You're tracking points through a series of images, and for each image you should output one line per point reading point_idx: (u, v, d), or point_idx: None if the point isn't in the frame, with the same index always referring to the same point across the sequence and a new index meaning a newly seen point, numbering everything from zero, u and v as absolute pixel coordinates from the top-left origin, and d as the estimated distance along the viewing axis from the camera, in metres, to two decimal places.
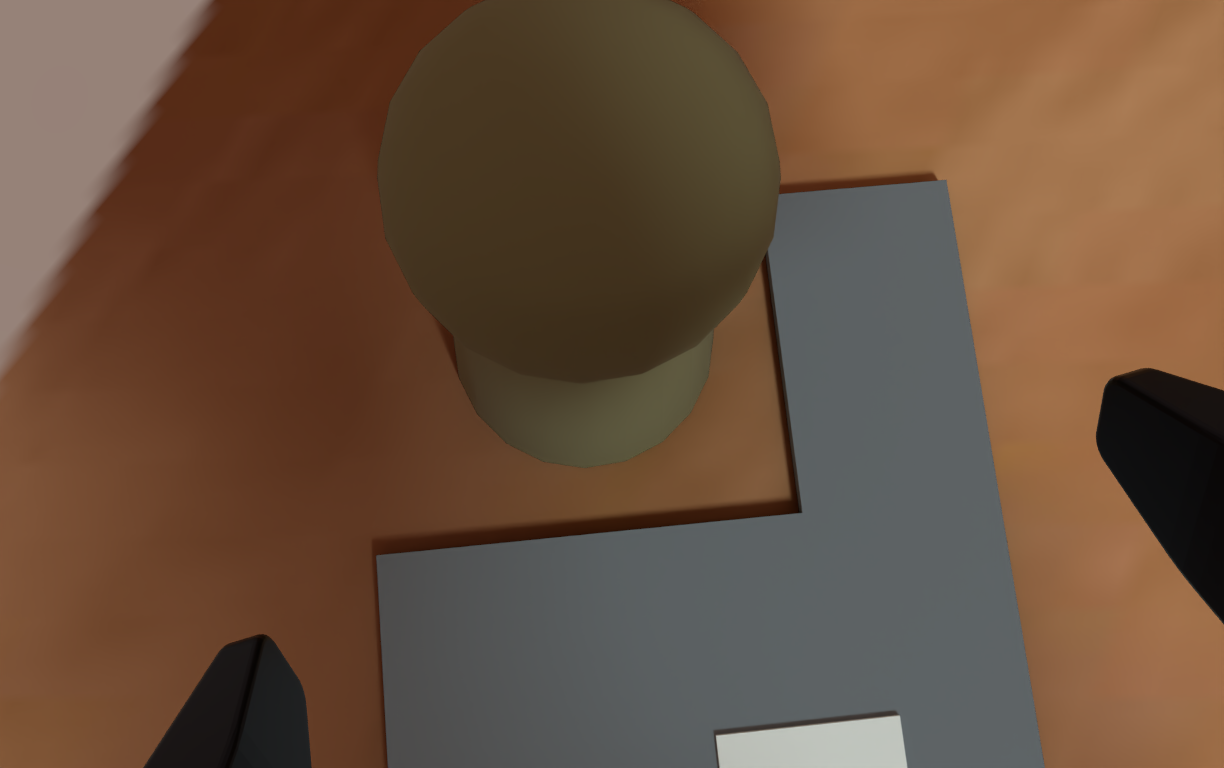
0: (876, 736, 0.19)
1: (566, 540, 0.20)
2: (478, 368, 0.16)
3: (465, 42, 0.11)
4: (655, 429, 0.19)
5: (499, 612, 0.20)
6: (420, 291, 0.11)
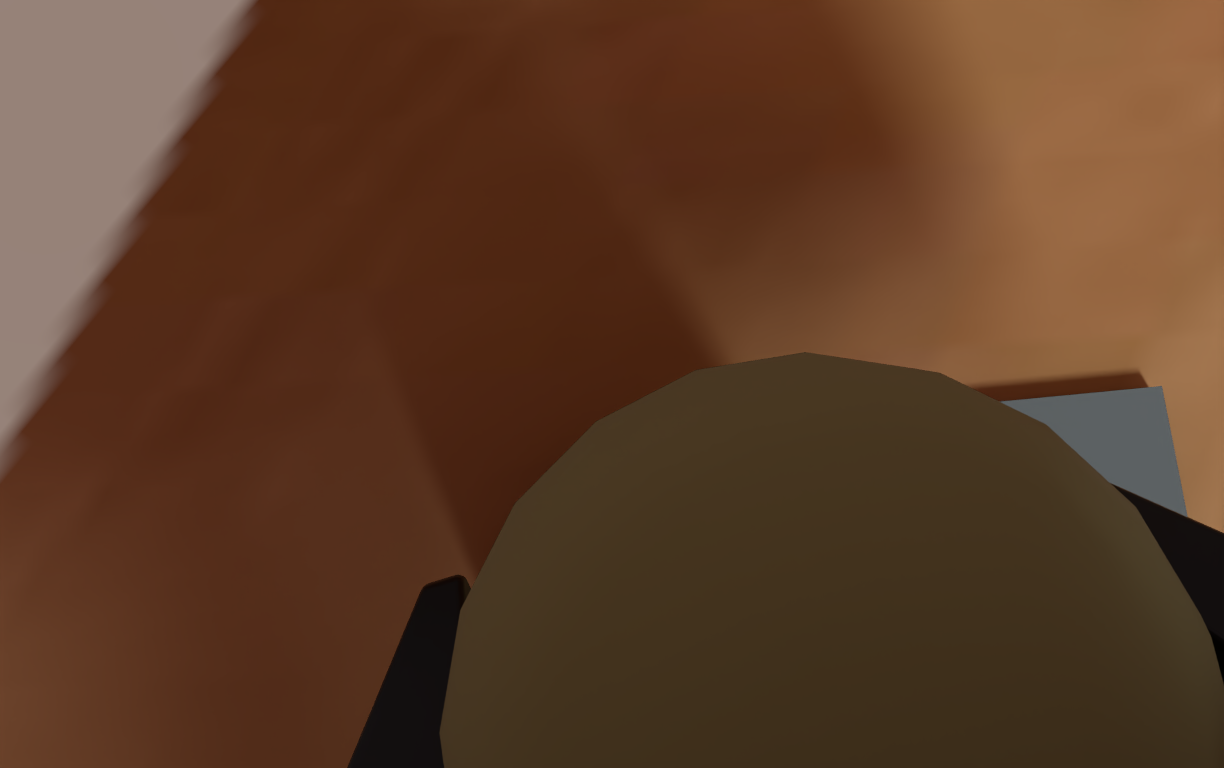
0: None
1: None
2: None
3: (636, 563, 0.05)
4: None
5: None
6: None
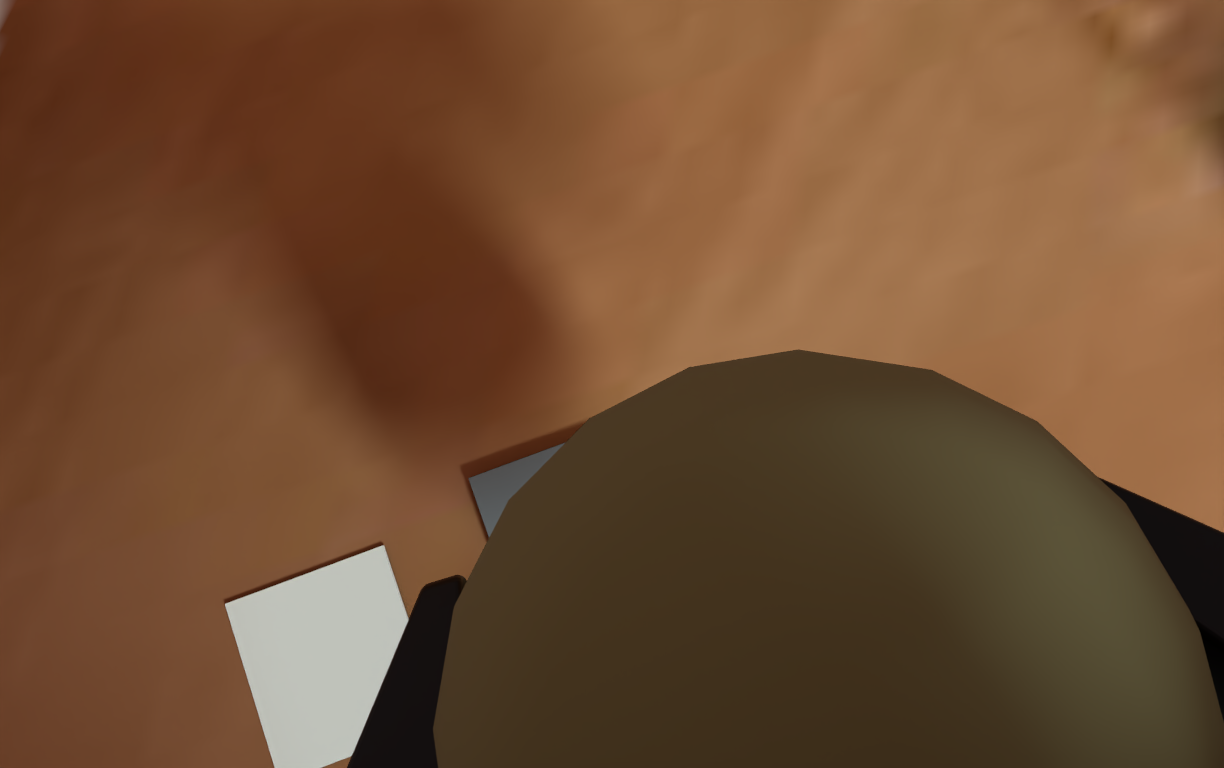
0: None
1: None
2: None
3: (631, 557, 0.05)
4: None
5: None
6: None
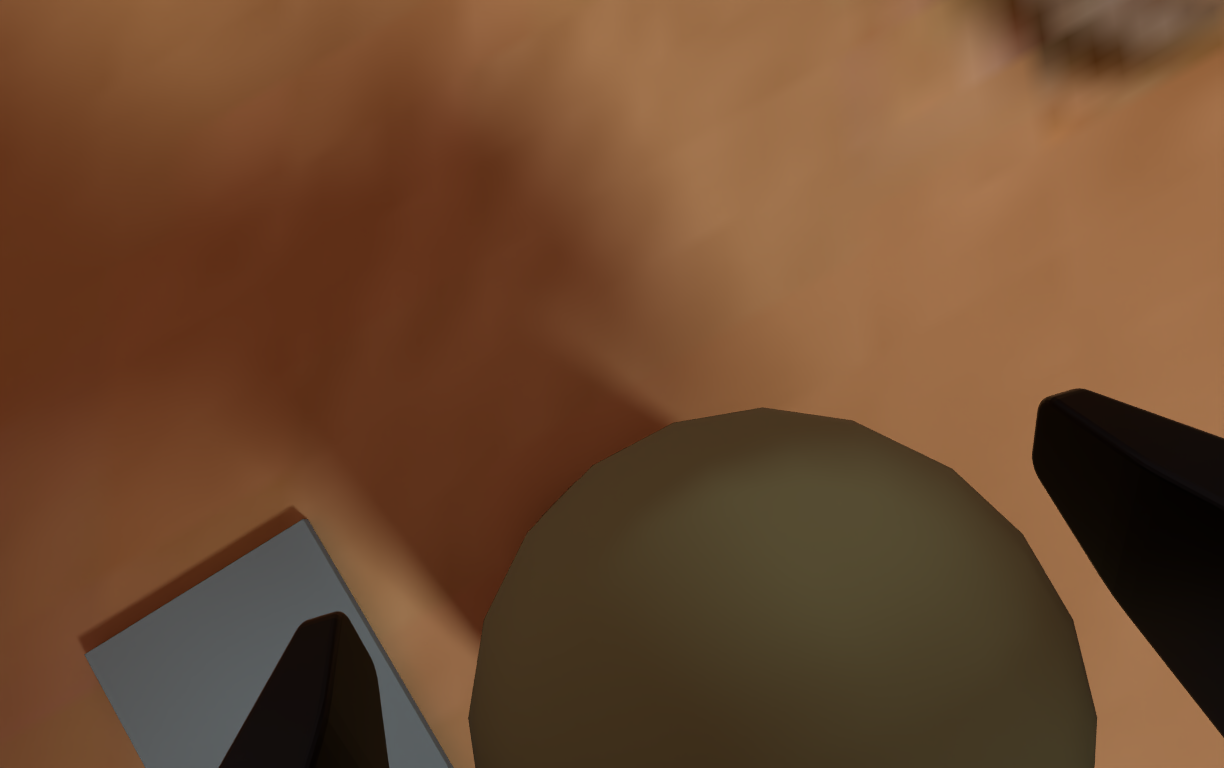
0: None
1: None
2: None
3: (624, 583, 0.07)
4: None
5: None
6: None
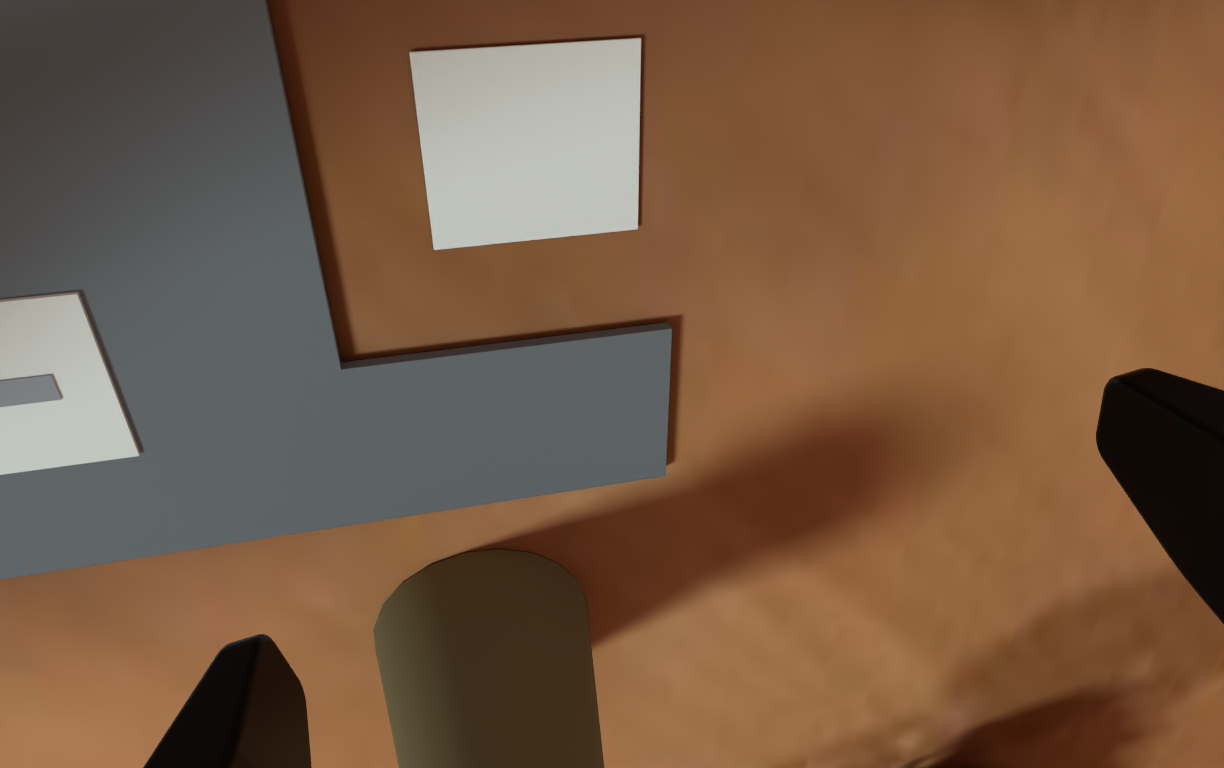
0: (113, 437, 0.19)
1: (286, 131, 0.17)
2: (483, 707, 0.21)
3: None
4: (385, 695, 0.24)
5: (182, 45, 0.15)
6: None
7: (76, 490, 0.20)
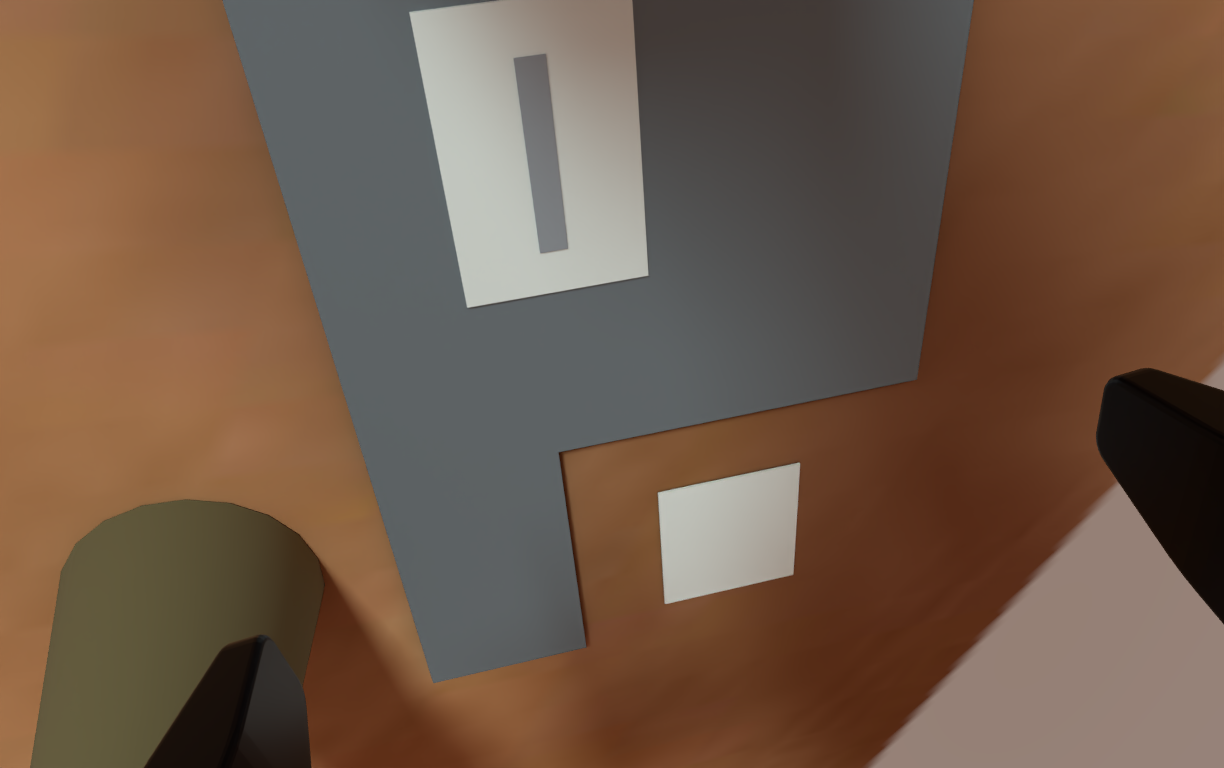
0: (491, 288, 0.19)
1: (763, 408, 0.23)
2: None
3: None
4: (139, 561, 0.20)
5: (826, 350, 0.22)
6: None
7: (416, 248, 0.18)
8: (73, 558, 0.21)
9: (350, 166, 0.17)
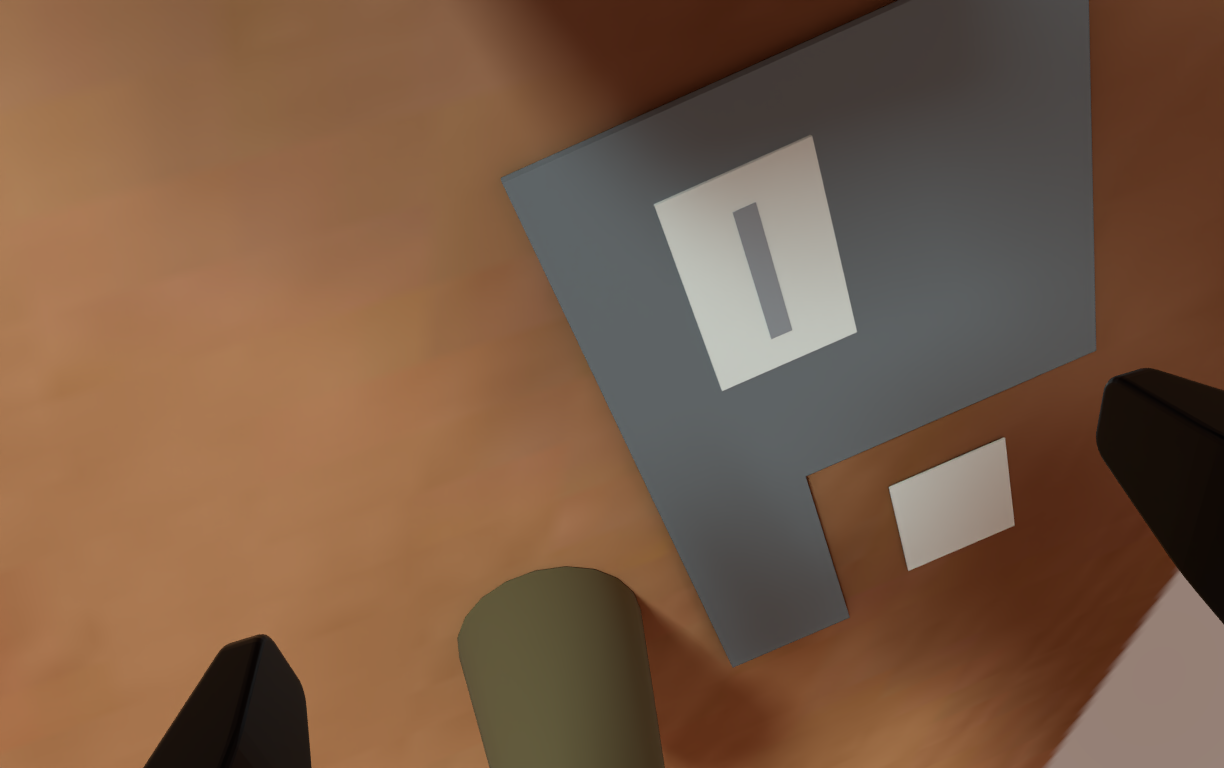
0: (738, 372, 0.25)
1: (966, 404, 0.27)
2: (650, 715, 0.26)
3: None
4: (522, 624, 0.26)
5: (1012, 348, 0.26)
6: None
7: (679, 359, 0.24)
8: (468, 628, 0.28)
9: (625, 317, 0.23)
